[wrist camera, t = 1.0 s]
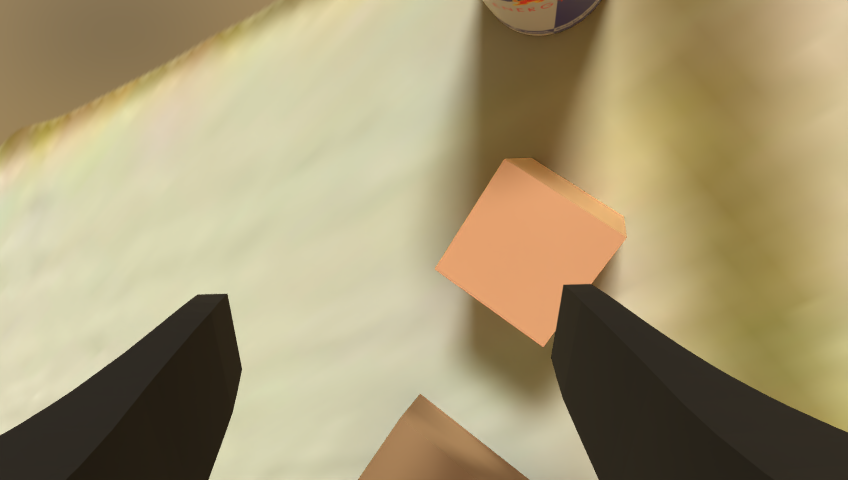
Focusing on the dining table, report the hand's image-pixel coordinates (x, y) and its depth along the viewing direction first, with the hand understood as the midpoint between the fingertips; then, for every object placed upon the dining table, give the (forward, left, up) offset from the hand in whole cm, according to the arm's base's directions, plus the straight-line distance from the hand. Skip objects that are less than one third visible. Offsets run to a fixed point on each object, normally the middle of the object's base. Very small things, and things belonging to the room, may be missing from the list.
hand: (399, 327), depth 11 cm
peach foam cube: (-1, -1, -13) cm, 13 cm away
